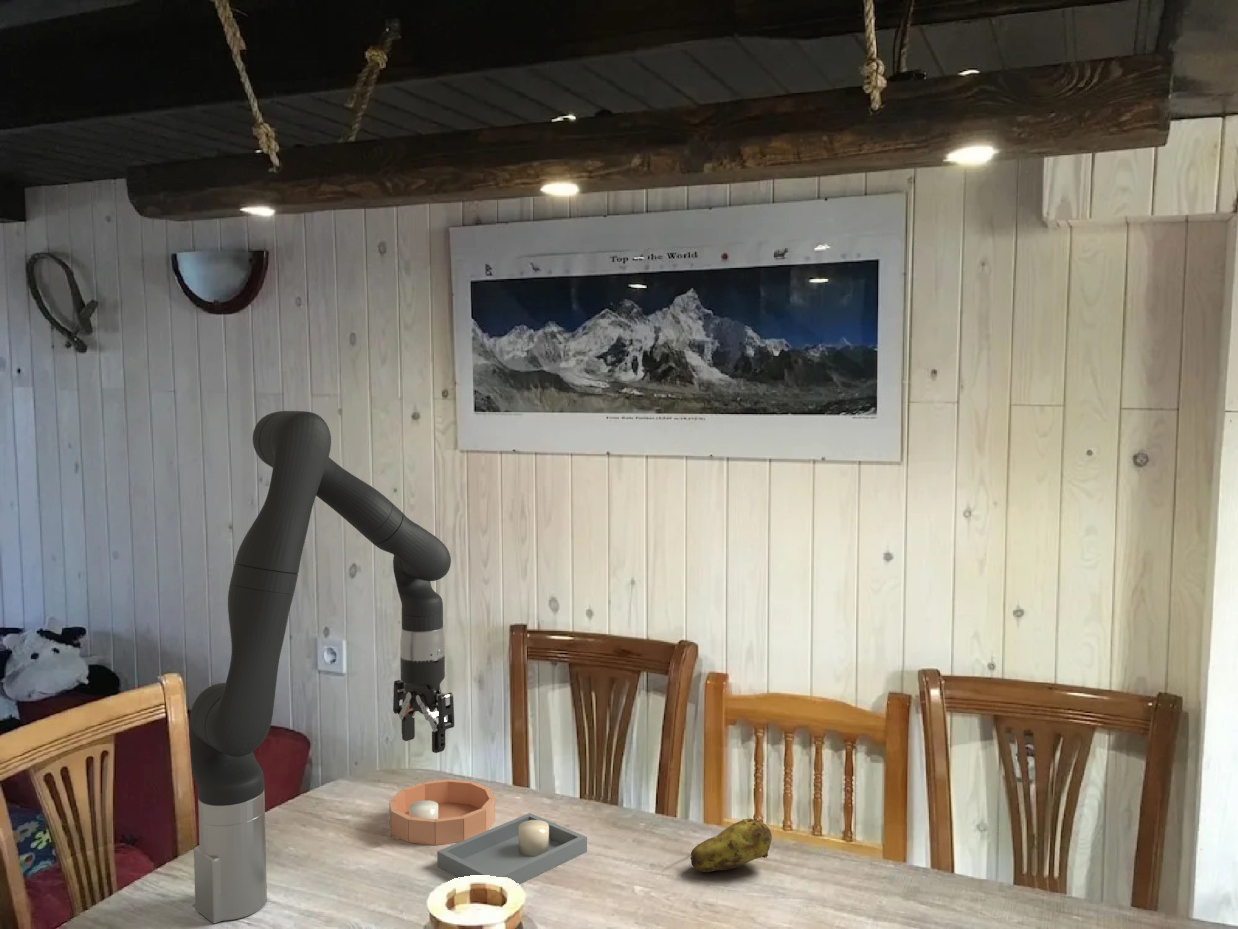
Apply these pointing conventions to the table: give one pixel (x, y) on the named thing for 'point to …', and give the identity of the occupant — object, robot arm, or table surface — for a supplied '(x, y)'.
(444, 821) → the bowl
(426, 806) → the pebble
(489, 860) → the tray
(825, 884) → the table surface
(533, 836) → the pebble
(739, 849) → the potato
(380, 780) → the table surface
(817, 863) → the table surface
